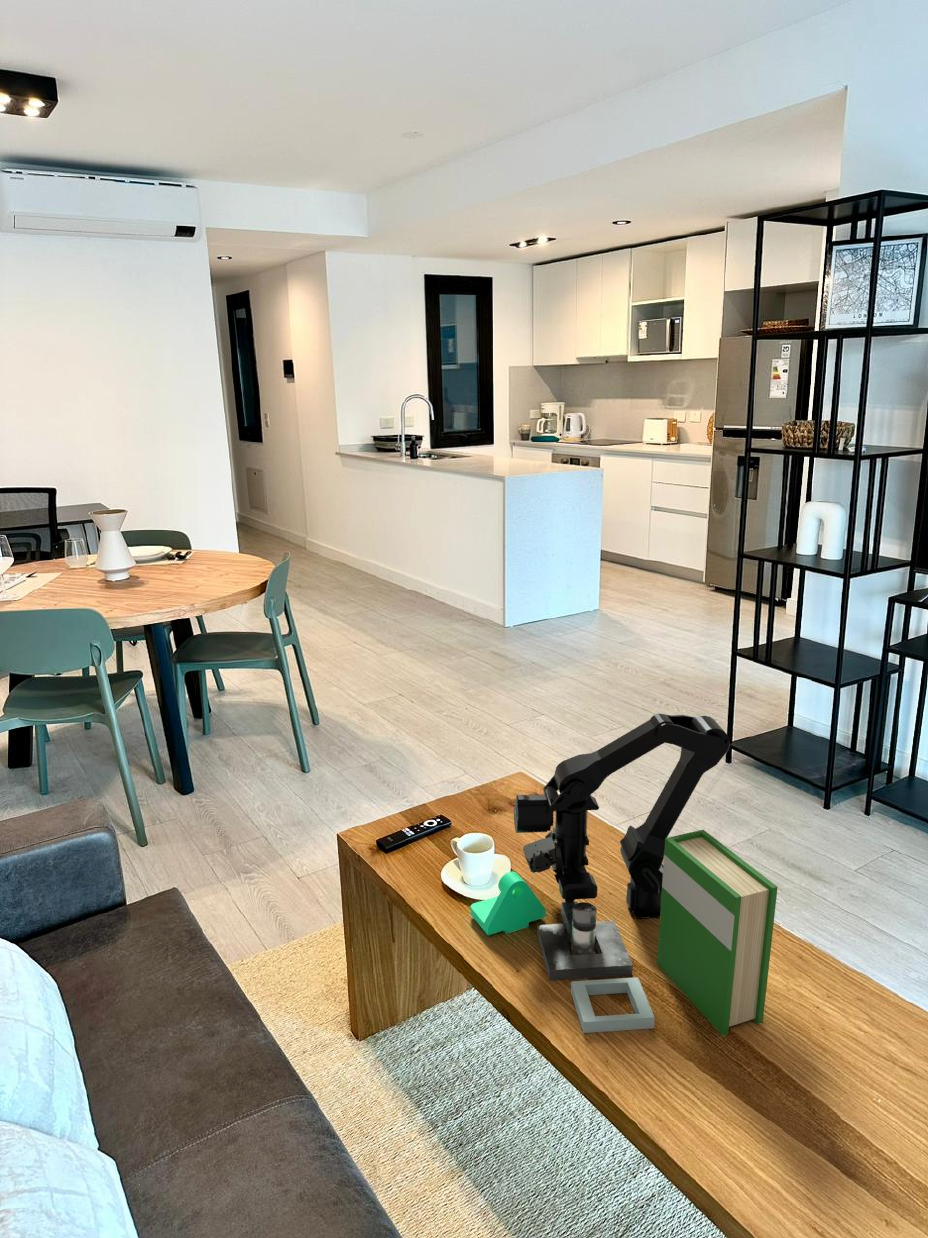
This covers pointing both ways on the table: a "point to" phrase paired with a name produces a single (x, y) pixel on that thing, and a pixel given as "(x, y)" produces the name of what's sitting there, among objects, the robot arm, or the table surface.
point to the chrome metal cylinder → (583, 929)
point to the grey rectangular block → (568, 916)
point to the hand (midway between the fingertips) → (568, 904)
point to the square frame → (613, 1022)
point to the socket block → (603, 964)
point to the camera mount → (508, 907)
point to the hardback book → (715, 929)
